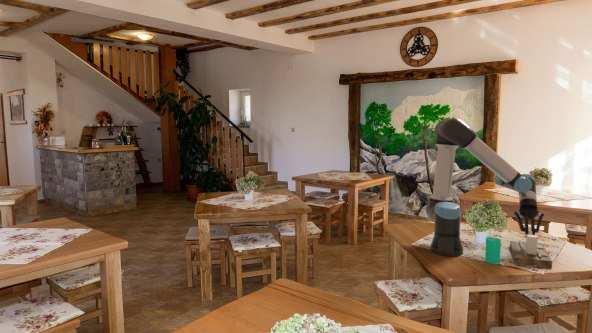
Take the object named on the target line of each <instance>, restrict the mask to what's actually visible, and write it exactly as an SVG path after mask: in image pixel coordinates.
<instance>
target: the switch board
mask: <svg viewBox="0 0 592 333" xmlns="http://www.w3.org/2000/svg"><path fill="white" fill-rule="evenodd" d="M509 248H510V251H511V254H512V258H513V262H514V264H515V265H521V266H522V265H523V266H530V265H531V266H530V267H532V266H533V267H541V268H548V269H549V268H550V269H552V268H553V259H552V258H551V256H550V254H549V253H548V251H547V250H546V248H545V246H544V244H543V243H541V242H540V243H539V242H537V255H532V254H526V241H522V240H518V241H517V240H510V241H509Z"/></svg>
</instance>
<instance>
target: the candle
mask: <svg viewBox="0 0 592 333" xmlns="http://www.w3.org/2000/svg"><path fill="white" fill-rule="evenodd" d="M501 241H502V239H500V238H499V237H494V235H493V236H491V237H490V236H486V237H485V254H484V256H485V258H484V259H485V262H486V263H488V264H493V265H494V264H495V265H497V264H500V262H501V246H502V245H501V244H502V243H501Z"/></svg>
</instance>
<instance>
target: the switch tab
mask: <svg viewBox="0 0 592 333" xmlns="http://www.w3.org/2000/svg"><path fill="white" fill-rule="evenodd" d="M525 242H526V254H532V255H537V243H539V242H538V235H536V234H535V235H527V234H526V237H525Z"/></svg>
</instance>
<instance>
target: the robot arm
mask: <svg viewBox="0 0 592 333" xmlns="http://www.w3.org/2000/svg"><path fill="white" fill-rule="evenodd" d="M478 136H479V135H478V133H477V132H476V131H474V130H473V129H472V128H471V127H470V126H469V125H468V124H467V123H465V121H463V120H461V119H460V118H455V117H453V118H447V117H446V118H444V119H442V120H439V121H438V122H437V123H436V125H435V127H434V137H435V142H434V145H435V146H436V147H437V152H436V162H435V171H434V179H433V180H434V181H433V190H432V194H431V195H429V196H428V197H429V198H428V203H426V207H425V213H426V216H427V217H428V219H429V220H430V221H431V222H433V223H434V230H433V231H434V235H433V237H432V240H431V243H430V246H429V249H430V252H431V253H433V254H436V255H440V256H448V257H456V256H461V255H463V254H464V247H463V244H462V238H461V216H462V213H461V212H462V211H461V206H460V205H459V204H457V203H455V202H454V198H453V197H452V196H451V193H452V186H453V175H454V174H453V173H454V166H455V160H456V159H455V158H456V152H457V151H456V150H457V149H458V148H459V147H460V149H462V150H466V151H468V153H469V154H471V155H472V156H474V158H476V159H477V160H478V161H479V162H480V163H482V164H483V165H484V166H485V167H486V168H488V169H489V170H490V171H491V172H492V173H494V174H495V175H494V178H493V179H494V180H493V182H494V184H495V185H497V186H499V187H503V188H506V189H510V190H512V191H514V192H517V193H518V198H519V200H518V201H519V203H518V204H519V205H518V206H519V209H518V211H514V213H513V217H514V218H515V219H516V222H517V225H518V227H519V229H520V231H521V232H524V234H525V238H526V234H527V235H536V233H539V231H540V227H541V223H542V220H543V219H544V217H545V213H543V212H542V213H541V212H540V211H539V208H538V202H537V190H536V189H537V188H536V185H537V184H536V179H535V176H534V175H532V174H530V173H523V174H521V173H520V172H519V171H518V170H517V169H515V168H514V166H512V165H511V164H510V163H508V162H507V161H506V160H505V159H504V158H503V157H501V156H500V155H499V154H498V153H497V152H496V151H494V149H492V148H491V147H490V146H488V145H487V144H486V143H485V142H484V141H483V140H481V139H480V138H479V137H478ZM453 202H454V203H453ZM521 217H522V218H523V220H524V223H523V221H522V219H521ZM536 217H538V219H537V220H538V221H537V224H536V226H535V218H536ZM529 221H530V230H529ZM535 227H536V228H535Z"/></svg>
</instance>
